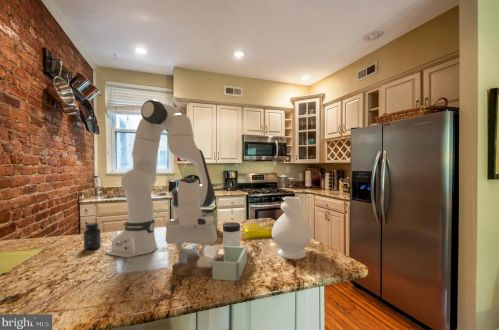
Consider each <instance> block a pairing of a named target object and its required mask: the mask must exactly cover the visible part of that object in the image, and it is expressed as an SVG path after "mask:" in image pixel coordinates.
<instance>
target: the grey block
mask: <svg viewBox="0 0 499 330" xmlns="http://www.w3.org/2000/svg"><path fill="white" fill-rule="evenodd" d="M198 249H199V247H198V244H187V245H186V246H184V247H183V249H182V250H181V251H180V250H179V252H178V261H179V265H188V264H189V263H190V262H191V261H192V260H193V259H194V258H195V257H196V256H197V255H198V253H199V250H198Z"/></svg>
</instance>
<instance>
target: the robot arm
mask: <svg viewBox="0 0 499 330" xmlns="http://www.w3.org/2000/svg"><path fill="white" fill-rule="evenodd" d="M140 113H141V114H140V115H141V117H142V118H140V121H139V123H138V125H137V127H136V131H135V135H134V136H135V137H134V139H133V140H134V141H133V147H132V151H131V156H132V163H133V164H132V169H130V170H128V171H127V172H125V173H124V174H123V175H122V177H121V180H120V184H121V187H122V189H123V190H124V194H125V199H126V204H127V221H126V222H124V223H123V224H122V227H124V226H125V227H124V229H123V230H122V231H121V232H119V233H118V234H117V235H116V236H115V237H113V239H112V242H111V247H109V248H107V249H106V250H105V255H112V256H117V257H123V258H134V257H136V256H141V255H146V254H150V253H152V252H154V251H156V250H158V244H157V240H156V235H155V223H156V222H155V218H154V201H153V199H152V194H151V188H153V186H154V185H156V181H157V165H158V153H159V149H160V142H161V136H162V133H163V132H164V131H166V132H167V143H168V150H169V151H170V153H171V154H172V155H173V156H175V157H176V158H178V159H181V160H184V161H186V162H188V163H191V164H193V166H195V168H196V170H197V173H198V178H199V180H198V179H197V178H195V177H183V178H181V179H178V184H177V186H175V187H174V188H173V190H171V193H170V194H171V205H172V206H173V207H174V208H177V209H178V214H177V215H178V218H177V219H168V220H167V221H166V223H165V228H166V229H165V242H166V244H168V245H170V244H173V245H174V244H176V248H177V249H178V251H179V252H180V251H181V250H182V249H184V247H183V244H185V245H186V244H187V245H188V244H200V246H201V248H200V249H199V250H198V253H199V255H203V254H204V251H205V248H206V246H208V244H210V245H211V244H214V243H215V242H216V241H217V239H218V234H217V233H218V231H216V226H215V224H214V223H213V220H214V218H213V216H210V215H207V214H204V213H201V207H208V206H210V205H213V203H214V202H215V200H216V194H215V193H216V192H215V189H214V186H213V183H212V181H211V178H210V174H209V170H208V169H209V168H208V166H207V161H206V159H205V156H204V152H203V151H202V149H199V148H198V147H197V145H196V143H195V141H194V139H195V138H194V131H193V125H192V123H191V119H190V117H189V116H188V115H186V114H184V113H183V111H181V110H180V109H177V108H176V107H174V106H172V105H171V104H167V103H164V102H161V101H160V100H157V99H148V100H146V101H145V102H143V105H142V106H141V109H140ZM199 181H200V182H199ZM200 206H201V207H200Z"/></svg>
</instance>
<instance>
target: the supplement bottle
mask: <svg viewBox="0 0 499 330" xmlns="http://www.w3.org/2000/svg"><path fill="white" fill-rule="evenodd" d="M85 228H86V229H85V230H84V232H83V250H84V251H86V250H90V251H95V250H98V249H99V248H101V247H102V243H101V241H102V240H101V239H102V237H101V236H102V235H101V229H100V228H99V223H98V222H91V223H86V224H85Z"/></svg>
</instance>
